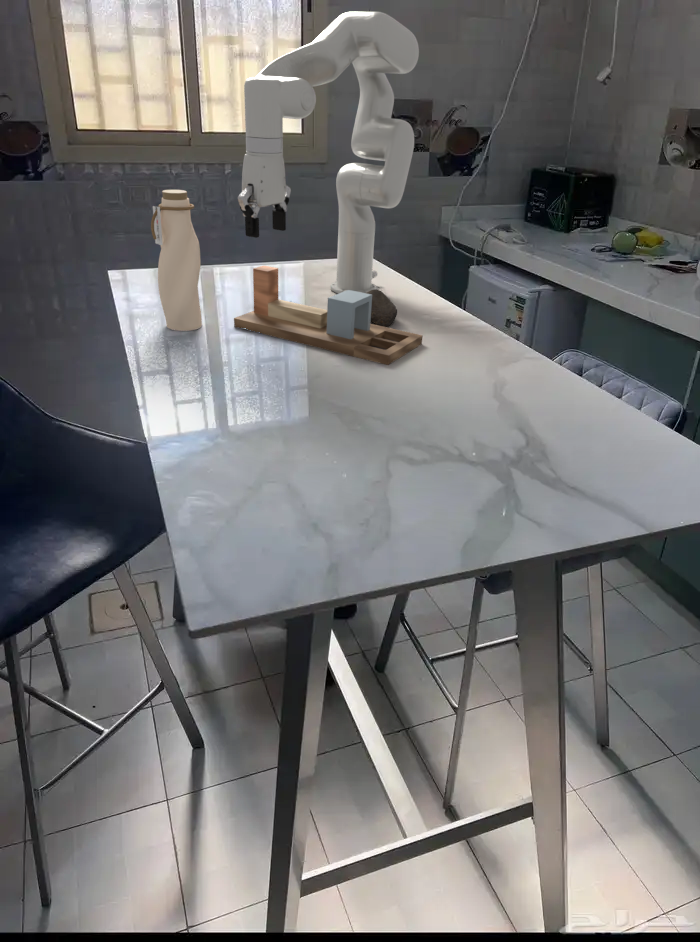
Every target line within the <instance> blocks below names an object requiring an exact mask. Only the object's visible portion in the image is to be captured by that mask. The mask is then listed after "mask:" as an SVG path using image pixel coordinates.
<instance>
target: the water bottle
mask: <svg viewBox="0 0 700 942" xmlns="http://www.w3.org/2000/svg"><path fill="white" fill-rule="evenodd" d="M161 192H162V197H161V203H160V204H158V205H157V206H156V205H155V206H154V205H153V206H152V217H151V222H150V230H151V234H152V238H153V240H154V241H155V242H154V243H155V244H156V245H159V246H160V253H159V257H158V264H157V265H158V267H157V285H158V293H159V294H158V295H159V299H160V303H161V307H162V310H163V314H164V318H165V323H166V324H165V325H166V327H167V328H168V329H169V330H172V331H177V332H178V331H179V332H186V331H187V332H188V331H189V332H190V331H196V330H197V329H200V328H201V327H202V326H203V319H202V311H201V310H202V309H201V305H200V296H199V295H200V294H199V280H200V274H201V264H202V263H201V249H200V241H199V239H198V237H197V234H196V231H195V228H194V226H193V223H192V218H191V217H192V216H191V210H193V209H195V205H194V204H193V203H190V198H189V197H188V192H187V191H186V190H183V189H164V190H162V191H161Z"/></svg>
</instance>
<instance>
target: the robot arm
mask: <svg viewBox="0 0 700 942" xmlns="http://www.w3.org/2000/svg"><path fill="white" fill-rule="evenodd" d="M416 37H417V36H415V34H414V33H413V32H412V31H411V30H410V29H409V28H408V27H406V26H405V25H403V24H402V23H401V22H399V21H398V20H396V19H395V18H394V17H392V16H390V15H389V14H388V13H385V12H382V11H347V12H344V13H341V14H340V15H338V17H337V18H335V19H334V20H333V21H332V22H331V23H330V24H328V26H327V27H326V28H325V29H324V30H322V32H321V33H320V34H318V36H317V37H315V39H314V40H312V42H310V43H307V44H305V45H303V46H300V47H298V48H296V49H294V50H292V51H291V52H288V53H286V54H284V55H281V56H280V57H278V58H275V59H273V60H272V61H271V62H269V63H268V64H267V65H266V66H265V67H264V68H263V69H262V70H261V71H260V72H259V73H258V74H257V75H256V76H255V77H254V76H251V77H249V78H246V79H245V81H244V85H243V89H244V90H243V91H244V92H243V93H244V94H243V95H244V97H243V98H244V122H245V126H244V127H245V128H244V129H245V152H246V153H245V154H244V156H243V163H242V173H241V176H242V177H241V192H240V193H239V195H238V196H237V201H238V204H239V206H240V208H239V209H240V211H241V213H242V216H243V217H244V225H245V226H244V227H245V236H246V237H251V238H255V239H256V238H260V220H259V219H260V218H259V217H258V214H259V212H260V209H261V208H266V207H270V206H272V207H273V210H272V214H271V215H272V229H273V230H276V231H281V232H282V231H286V229H287V223H286V222H287V221H286V220H287V219H286V218H287V217H286V216H287V214H286V213H287V211H288V205H289V202H290V196H291V192H292V190H291V187H290V186H289V185H287V184H286V182H287V181H286V169H285V159H284V150H283V149H284V143H283V141H284V139H283V138H284V133H283V132H284V129H283V125H284V124H283V121H284V120H283V119H288V120H289V119H290V120H291V119H292V120H301V119H305V118H307V117H308V116H310V115H311V114H312V113H313V111H314V110H315V107H316V103H317V96H316V91H315V88H314V87H317V86H321V85H325V84H329V83H332V82H333V81H335V80H337V79H338V77H339V76H340V75H341V74H342V73H344V71H346V69H347V68H348V67H349V66H350V65H351V64H352V66H353V69H354V72H355V74H356V77H357V81H358V84H359V86H358V87H359V101H358V106H357V111H356V115H355V120H354V125H353V129H352V134H351V143H350V146H351V147H350V148H351V150H352V153H353V154H354V155H355V156H357V157H359V158H361V159H365V160H373V161H383V162H384V165H376V164H372V163H362V162H351V163H346V164H345V165H343V166H342V167H341V168H339V171H338V172H337V175H336V180H335V181H336V182H335V185H336V186H335V187H336V195H337V202H338V231H337V232H338V233H337V234H338V236H337V257H336V259H337V260H336V280H335V281H334V282H331V283H330V286H329V287H330V290H331V291H332V292H333V293H336V294H339V293H341V292H344V291H346V290H352V291H357V292H361V293H367V292H368V291H371V290H374V289H376V290H378V287H377V285H375V284H374V283H373V282H372V280H373V279H375V278H377V277H378V272H377V271H376V270H373V266H374V265H373V264H374V249H375V247H374V246H375V233H376V221H375V215H374V213H373V211H372V208H371V207H375V208H383V209H393V208H395V207H397V206H398V205H399V204H400V202H401V200H402V199H403V195H404V192H405V188H406V184H407V180H408V175H409V171H410V167H411V164H412V163H411V162H412V158H413V153H414V148H415V135H414V134H415V132H414V130H413V127H412V125H411V124H410V123H409V122H408V121H406V120H404V119H398V118H392V115H393V109H394V104H395V103H394V102H395V93H394V90H393V88H392V86H391V83H390V82H389V79H388V77H387V75H386V74H393V75H394V74H395V75H398V74H399V75H404V74H408V73H410V72H411V71H413V70H414V69H415V67H416V65H417V64H418V60H419V55H420V49H419V43H418V40H417V38H416ZM252 208H253V209H252Z"/></svg>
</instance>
